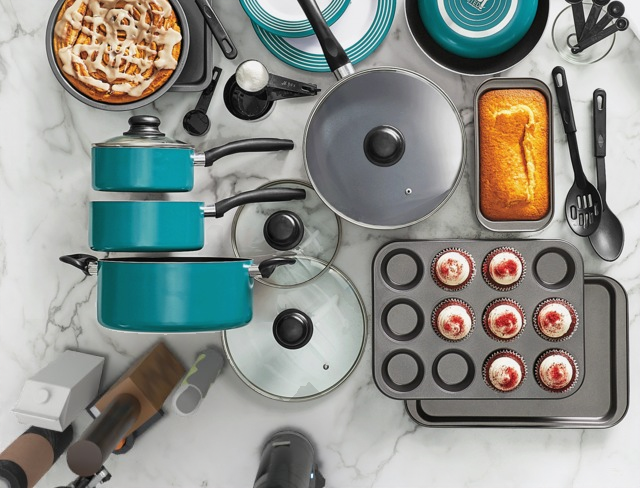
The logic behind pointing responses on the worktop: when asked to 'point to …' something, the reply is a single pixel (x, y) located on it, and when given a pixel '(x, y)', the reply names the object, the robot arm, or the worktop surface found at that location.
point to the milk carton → (60, 391)
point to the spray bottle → (197, 383)
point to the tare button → (120, 444)
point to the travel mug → (32, 456)
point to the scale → (132, 437)
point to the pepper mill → (103, 435)
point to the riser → (147, 383)
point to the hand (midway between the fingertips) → (97, 467)
